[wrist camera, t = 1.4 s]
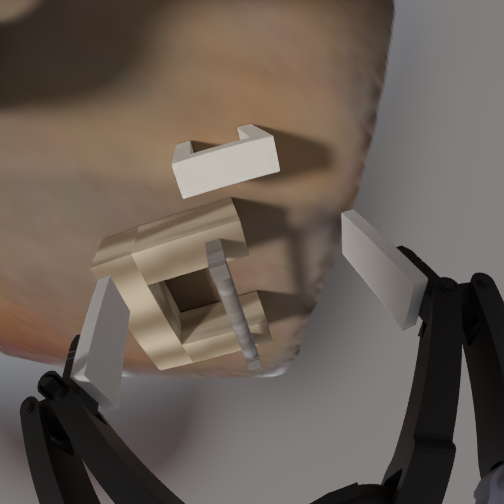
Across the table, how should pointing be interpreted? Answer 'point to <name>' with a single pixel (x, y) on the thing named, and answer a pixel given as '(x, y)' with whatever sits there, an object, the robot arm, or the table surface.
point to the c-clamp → (179, 263)
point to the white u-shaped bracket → (225, 162)
